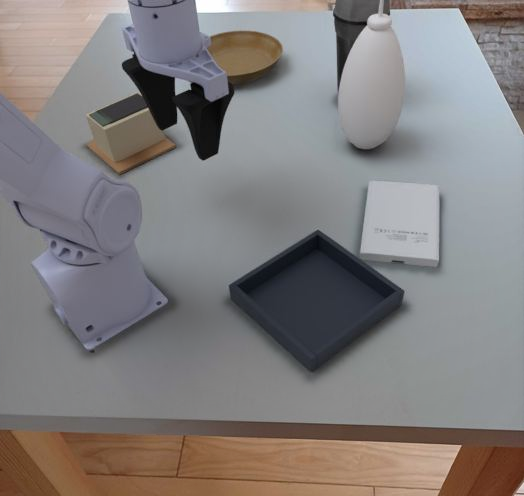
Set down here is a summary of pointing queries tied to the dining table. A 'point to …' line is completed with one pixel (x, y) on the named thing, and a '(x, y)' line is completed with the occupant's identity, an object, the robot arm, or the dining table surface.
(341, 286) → the tray
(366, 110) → the sauce bottle
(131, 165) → the coaster
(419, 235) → the hard drive
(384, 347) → the dining table surface
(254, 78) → the plant saucer
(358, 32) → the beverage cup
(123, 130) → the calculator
